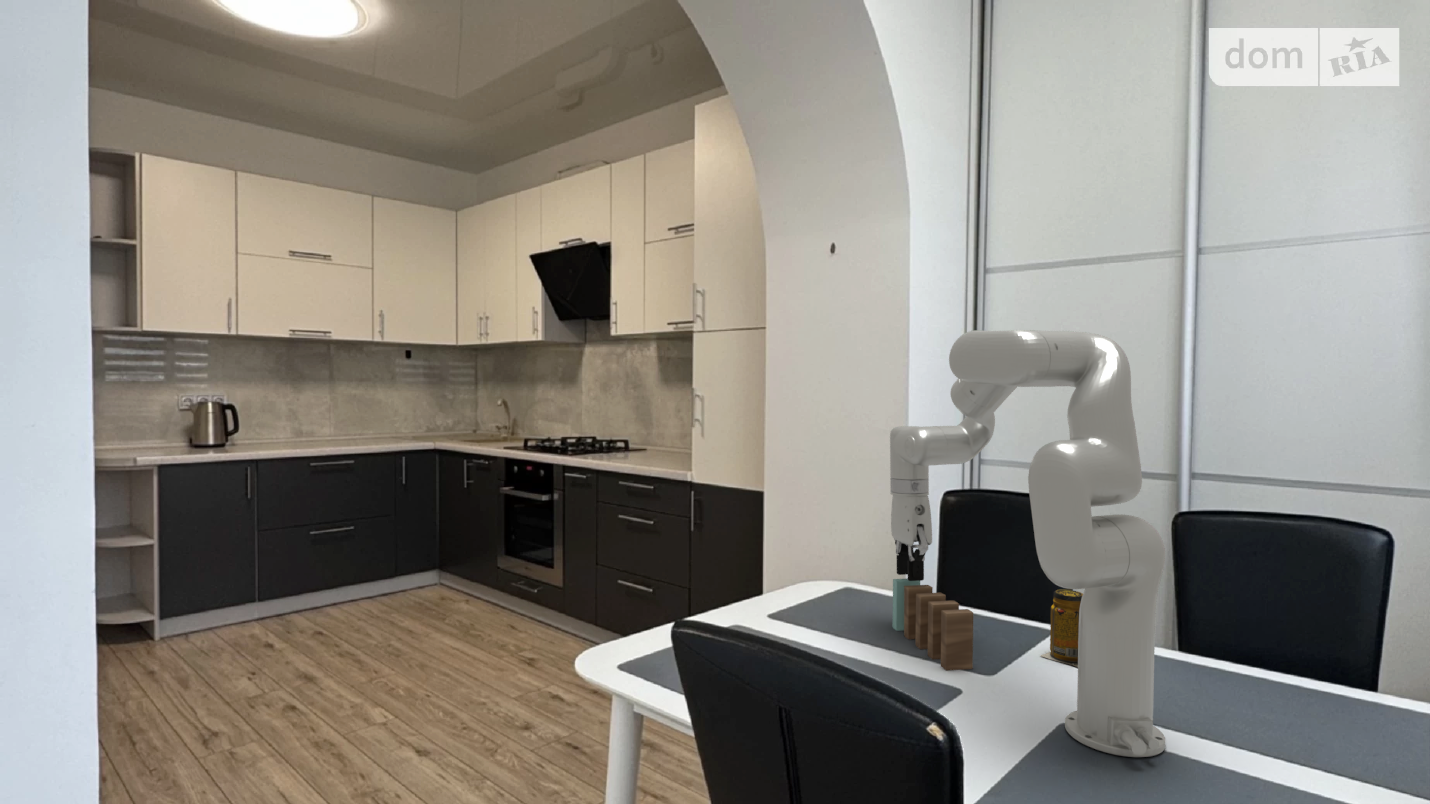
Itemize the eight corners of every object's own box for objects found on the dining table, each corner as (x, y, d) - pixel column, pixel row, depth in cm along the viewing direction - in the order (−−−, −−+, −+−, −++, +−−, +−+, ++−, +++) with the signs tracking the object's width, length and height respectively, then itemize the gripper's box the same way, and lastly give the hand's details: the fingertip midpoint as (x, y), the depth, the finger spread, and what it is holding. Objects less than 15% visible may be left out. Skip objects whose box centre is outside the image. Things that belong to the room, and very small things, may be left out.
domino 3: (944, 647, 141) (945, 595, 141) (920, 649, 140) (920, 596, 140) (939, 644, 143) (940, 592, 143) (915, 645, 142) (916, 593, 142)
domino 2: (932, 638, 146) (932, 587, 146) (908, 639, 146) (908, 588, 146) (927, 634, 148) (927, 584, 148) (904, 636, 148) (904, 585, 148)
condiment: (1059, 648, 142) (1060, 585, 141) (1105, 661, 135) (1106, 595, 135) (1039, 657, 137) (1041, 592, 137) (1086, 671, 130) (1088, 603, 130)
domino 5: (972, 668, 131) (973, 612, 131) (945, 670, 130) (946, 613, 130) (966, 664, 133) (967, 609, 133) (940, 666, 132) (941, 610, 132)
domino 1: (919, 629, 152) (920, 580, 151) (896, 630, 151) (896, 581, 150) (915, 626, 154) (916, 578, 153) (892, 627, 153) (893, 579, 152)
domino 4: (958, 657, 136) (958, 603, 136) (932, 659, 135) (933, 604, 135) (952, 653, 138) (953, 600, 138) (927, 655, 137) (928, 601, 137)
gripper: (946, 491, 143) (947, 586, 143) (909, 482, 160) (909, 567, 160) (909, 492, 142) (910, 588, 142) (876, 483, 159) (876, 568, 159)
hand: (910, 576), depth 151 cm, fingers open, 4 cm apart
